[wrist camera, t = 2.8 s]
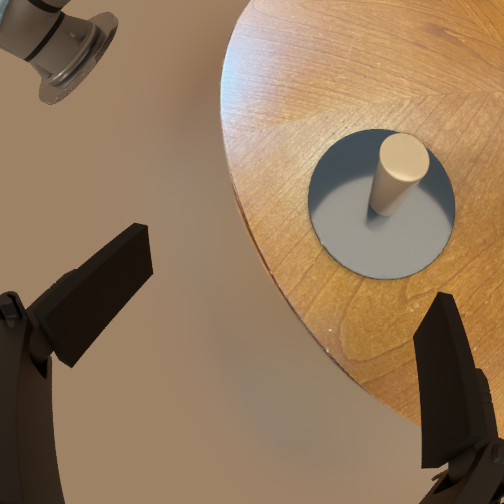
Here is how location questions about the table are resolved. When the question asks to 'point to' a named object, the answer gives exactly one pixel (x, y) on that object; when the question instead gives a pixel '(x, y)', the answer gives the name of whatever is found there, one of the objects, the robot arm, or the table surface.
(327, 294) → the table surface
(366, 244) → the lid
